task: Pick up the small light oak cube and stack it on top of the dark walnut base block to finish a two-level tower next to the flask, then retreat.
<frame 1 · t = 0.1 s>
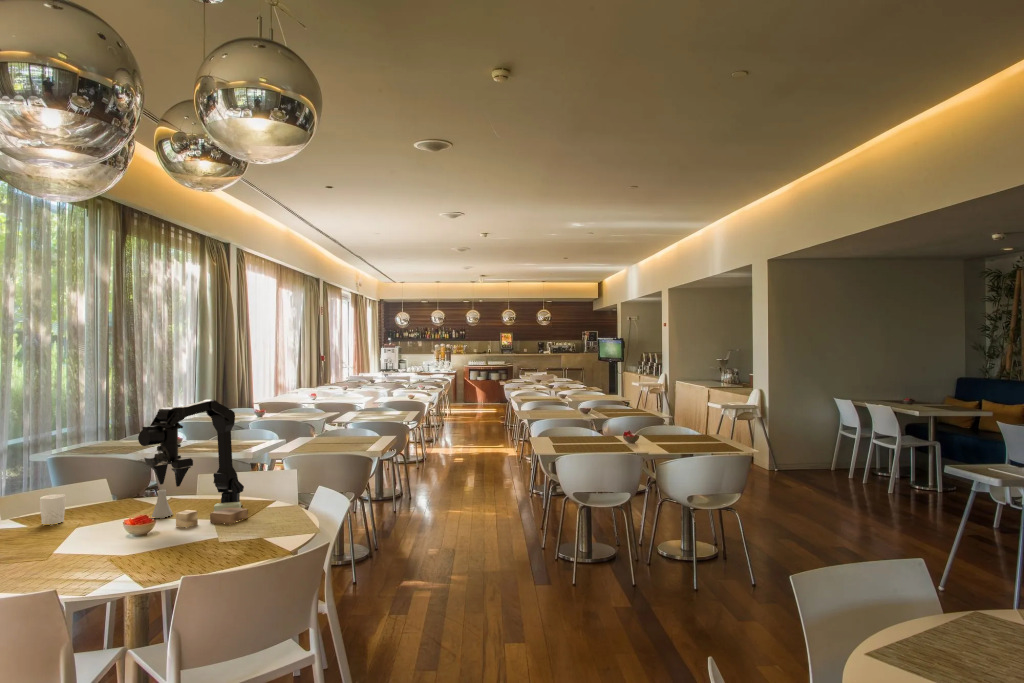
hand: (169, 485, 240), 15 cm above the table, tool pointing down, fingers open, 9 cm apart
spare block: (227, 514, 256), on the table
oak cube: (186, 525, 240), on the table
base block: (229, 521, 246), on the table
flask: (162, 517, 253), on the table
white cup: (52, 523, 246), on the table
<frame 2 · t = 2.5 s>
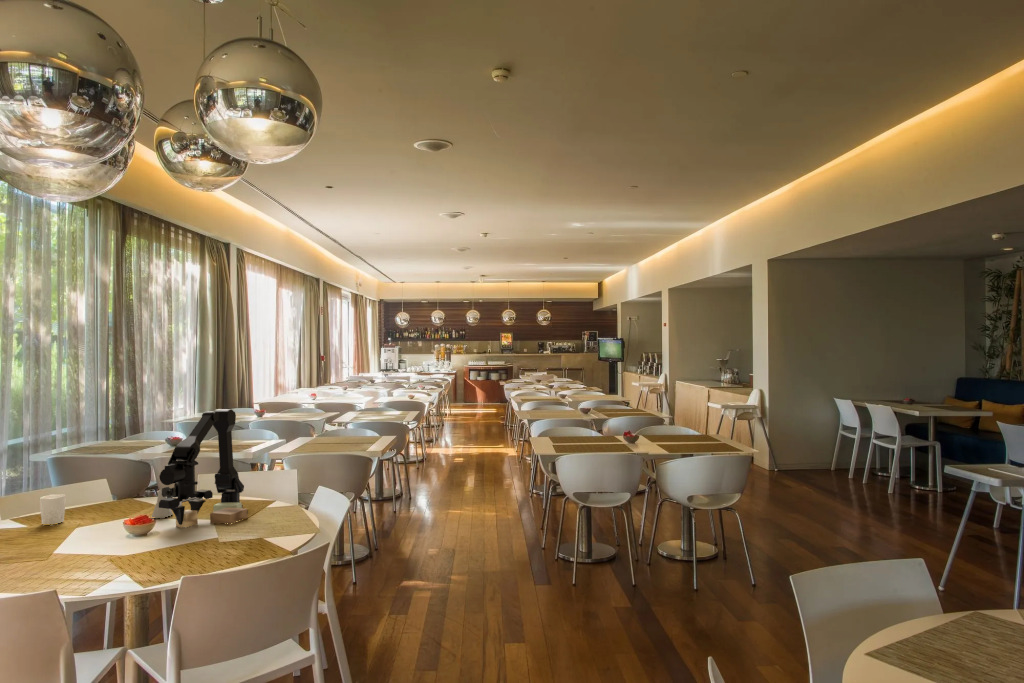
hand: (186, 522, 240), 1 cm above the table, tool pointing down, fingers closed on oak cube, 5 cm apart
oak cube: (186, 525, 240), on the table, touching gripper
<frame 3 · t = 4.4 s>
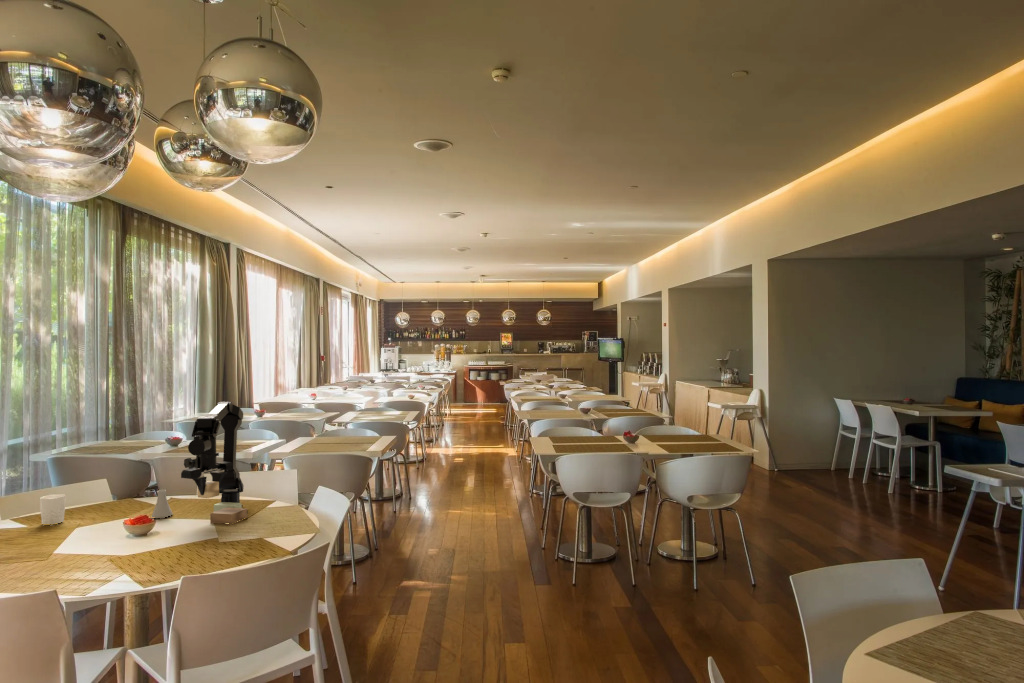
hand: (208, 493, 243), 11 cm above the table, tool pointing down, fingers closed on oak cube, 5 cm apart
oak cube: (208, 496, 243), point 10 cm above the table, touching gripper
when the fingers open (6 cm above the table, at t = 6.5 s): oak cube drops 1 cm, point 4 cm above the table.
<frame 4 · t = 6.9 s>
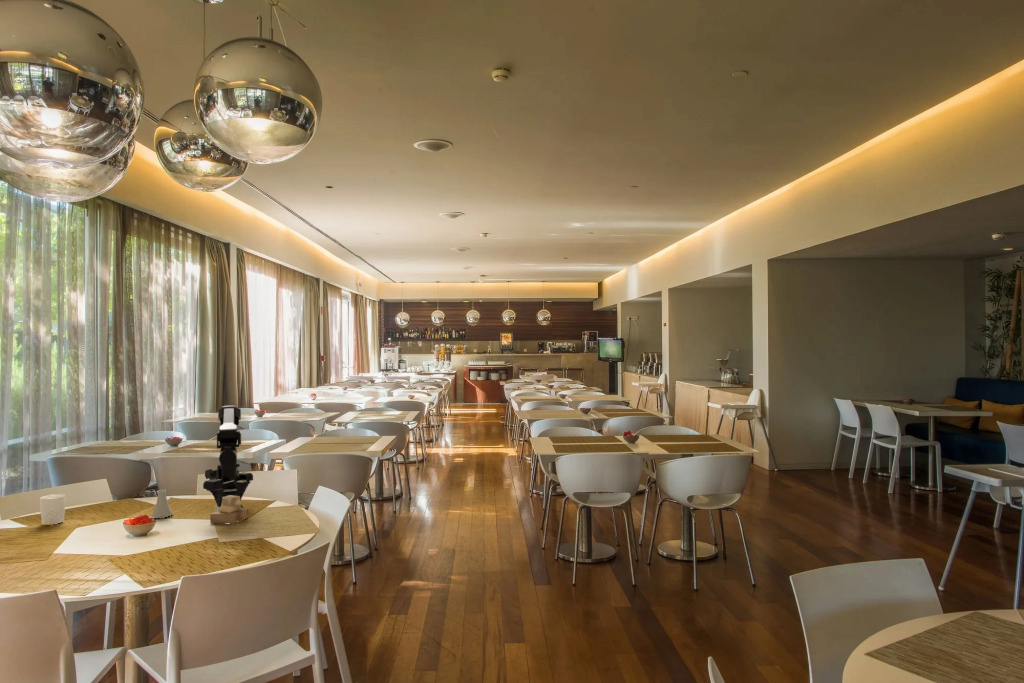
hand: (229, 504, 246), 6 cm above the table, tool pointing down, fingers open, 9 cm apart
oak cube: (229, 510, 246), point 4 cm above the table
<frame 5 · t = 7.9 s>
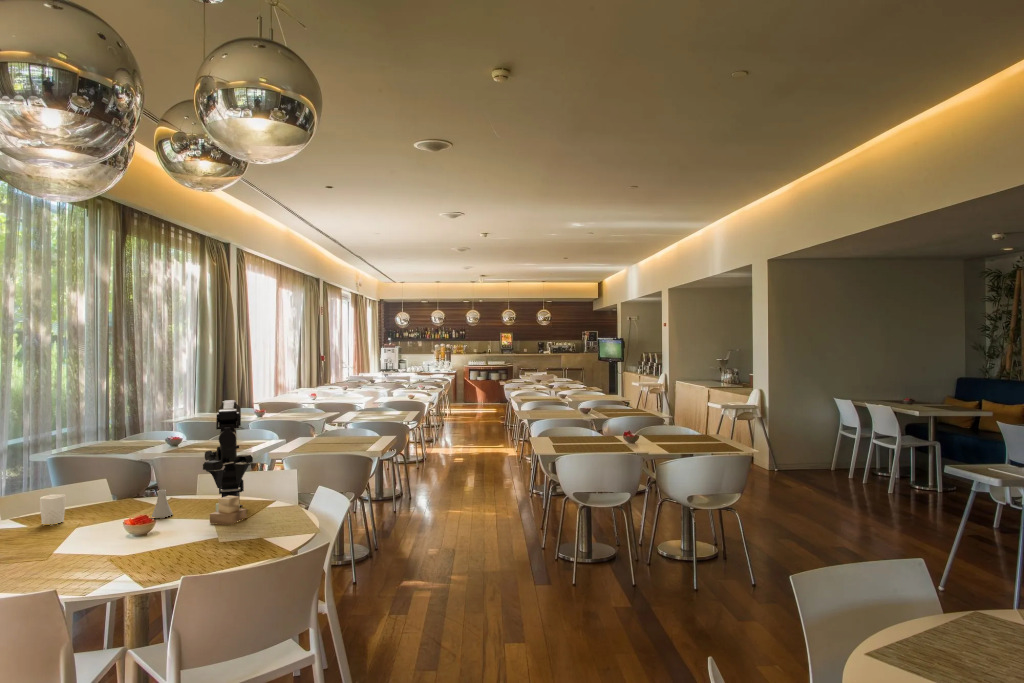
hand: (228, 485, 246), 13 cm above the table, tool pointing down, fingers open, 9 cm apart
oak cube: (229, 511, 246), point 4 cm above the table, touching base block
base block: (228, 522, 245), on the table, touching oak cube
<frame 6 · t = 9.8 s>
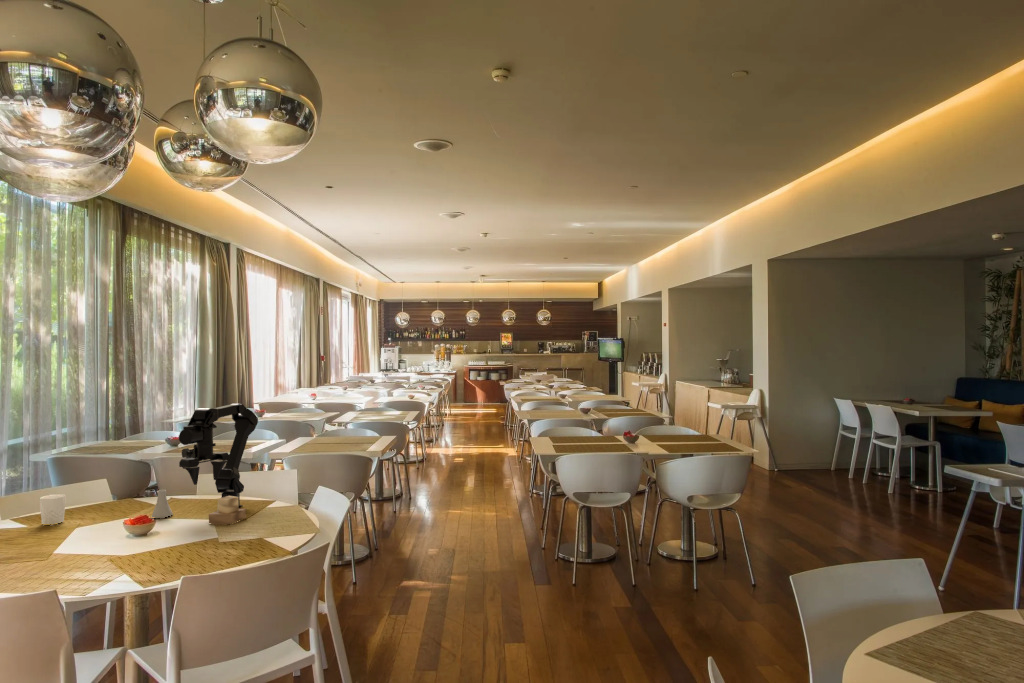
hand: (205, 482, 252), 13 cm above the table, tool pointing down, fingers open, 9 cm apart
at the end: oak cube inside the target area on the base block (0.3 cm from its centre), point 4.0 cm above the base block's base; oak cube tilted 0°; the gripper is holding nothing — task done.
